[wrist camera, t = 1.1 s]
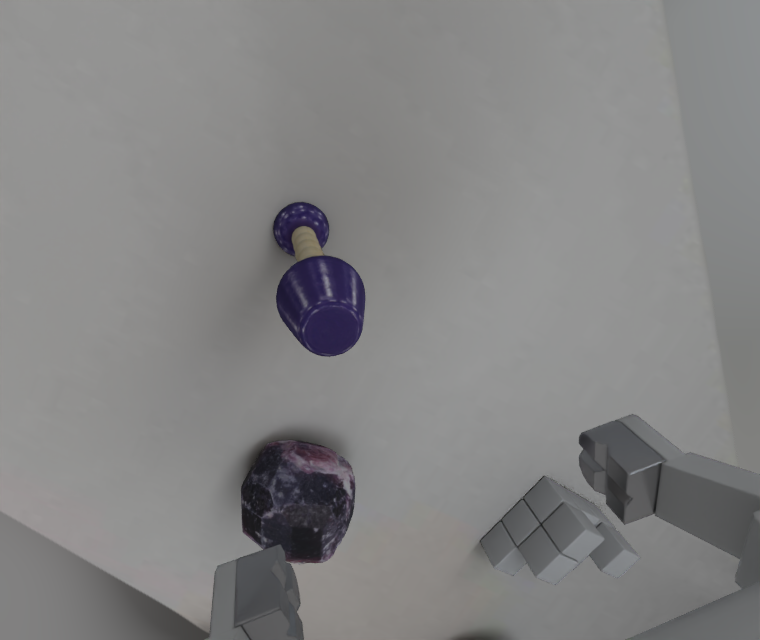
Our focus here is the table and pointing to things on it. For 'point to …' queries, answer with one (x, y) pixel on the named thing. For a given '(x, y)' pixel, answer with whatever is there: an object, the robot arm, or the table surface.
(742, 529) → the robot arm
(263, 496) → the mineral specimen
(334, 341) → the toy lamp
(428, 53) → the table surface
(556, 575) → the grey stepped block
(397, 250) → the table surface
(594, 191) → the table surface
